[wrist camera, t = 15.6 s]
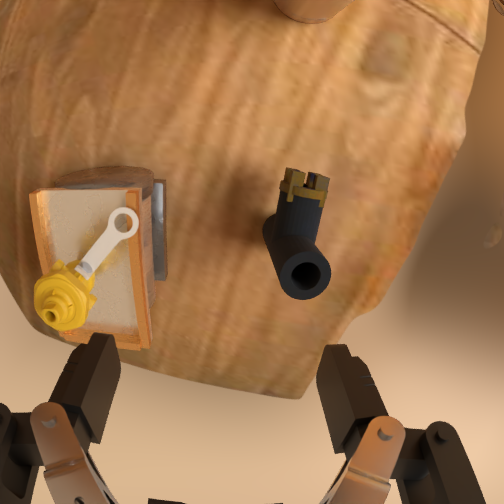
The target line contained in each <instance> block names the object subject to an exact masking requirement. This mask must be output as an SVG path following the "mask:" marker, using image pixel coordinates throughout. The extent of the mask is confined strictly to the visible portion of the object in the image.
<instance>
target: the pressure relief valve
mask: <svg viewBox="0 0 504 504" xmlns="http://www.w3.org/2000/svg"><path fill="white" fill-rule="evenodd" d="M121 213H125V214H128V215H129V216H130V217H131V218H132V221H133V226H132V228H131V230H130V231H128V232H120V231H118V230H117V229H116V227H115V224H114V221H115V218H116V216H117V215H119V214H121ZM138 226H139V219H138V217H137V214H136V213H135V212H134V211H133V210H132V209H130V208H127V207H120V208H117V209H116V210H114V211H113V212H112V213H111V215H110V217H109V221H108V227H107V229H106V230H105V231H104V233H103V234H102V235H101V236H100V238H99V239H98V240H97V241H96V242H95V244H94V245H93V246H92V247H91V249H90V250H89V251H88V252H87V254H86V255H85V256H84V258H83V259H82V260H74V261H72V262H69V263H68V264H67V265H66V266H65V263H64V262H63V261H62V260H60V259H58V260H57V261H56V263H55V264H54V265H53V266H52V268H51V269H50V271H49V273H48V274H45V275H43V276H42V277H41V278H40V279H39V280H38V281H37V282H36V284H35V286H34V307H35V310H36V312H37V314H38V315H39V316H40V317H41V318H42V319H43V321H44V322H45V323H46V324H48V325H50V326H51V327H53V328H54V329H56V330H59V331H68V330H72V329H75V328H78V327H81V326H82V325H83V324H84V323H85V321H86V319H87V317H88V312H89V310H90V309H91V308H92V307H93V305H94V304H95V302H96V301H97V298H96V297H95V296H94V295H93V294H90V293H89V292H91V290H92V288H93V287H94V283H95V274H94V271H95V270H96V269H97V267H98V266H99V265H100V264H101V263H102V261H103V260H104V259H105V258H106V257H107V255H108V254H109V253H110V252H111V251H112V249H113V248H114V247H115V246H116V245H117V244H118V242H119V241H121V240H122V239H126V238H130V237H131V236H133V235H134V234H135V233H136V231H137V229H138Z"/></svg>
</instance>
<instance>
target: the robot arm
mask: <svg viewBox="0 0 504 504" xmlns="http://www.w3.org/2000/svg"><path fill="white" fill-rule="evenodd" d="M353 1H354V0H274V3H275V4H276V6H277V7H278V9H279V10H280V11H282V12H283V13H284V14H285V15H286V16H288V17H290V18H291V19H294V20H296V21H299V22H303V23H310V24H314V23H321V22H325V21H327V20H329V19H331V18H332V17H333V16H335V15H336V14H337V13H338V12H340V11H341V10H342V9H344V8H345V7H346V6H348V5H349V4H350V3H351V2H353ZM120 373H121V364H120V359H119V355H118V351H117V347H116V342H115V338H114V336H113V334H106V333H98V332H94V333H93V334H92V336H91V338H90V340H89V342H88V344H82V343H81V344H80V345H79V346H78V347H77V348H76V349H74V350H73V351H72V353H71V355H70V357H69V359H68V361H67V364H66V365H65V367H64V369H63V372H62V373H61V375H60V377H59V379H58V382H57V384H56V386H55V388H54V390H53V392H52V395H51V397H50V399H49V401H48V402H45V403H42V404H39V405H38V406H37V407H35V409H34V410H33V411H32V412H28V413H11V412H10V410H9V409H8V407H7V406H6V405H4V404H2V403H0V504H31V499H32V495H33V490H34V486H35V482H36V478H37V473H38V470H39V466H45V469H46V471H44V478H45V480H46V483H47V486H48V488H49V491H50V493H51V495H52V497H53V500H54V502H55V504H118V502H117V501H116V499H115V498H114V496H113V495H112V493H111V492H110V490H109V489H108V487H107V485H106V483H105V481H104V480H103V478H102V476H101V474H100V472H99V471H98V469H97V467H96V465H95V463H94V461H93V459H92V457H91V455H90V453H89V451H88V449H89V446H90V442H92V443H97V444H100V442H101V439H102V435H103V431H104V428H105V424H106V421H107V417H108V414H109V410H110V407H111V404H112V400H113V397H114V394H115V391H116V387H117V384H118V381H119V378H120ZM316 383H317V388H318V392H319V395H320V399H321V403H322V407H323V410H324V414H325V418H326V422H327V425H328V429H329V433H330V437H331V441H332V445H333V448H334V452H335V454H338V453H345V455H346V460H345V462H344V464H343V465H342V467H341V469H340V471H339V473H338V474H337V476H336V478H335V479H334V481H333V483H332V484H331V486H330V488H329V490H328V491H327V493H326V495H325V496H324V498H323V499H322V501H321V502H320V503H319V504H384V502H385V500H386V498H387V495H388V493H389V491H390V487H391V485H390V484H389V479H396V482H397V486H398V489H399V493H400V497H401V501H402V504H486V502H485V500H484V497H483V494H482V491H481V489H480V486H479V484H478V481H477V478H476V476H475V474H474V471H473V469H472V466H471V464H470V461H469V459H468V456H467V455H466V452H465V450H464V447H463V445H462V443H461V440H460V438H459V436H458V434H457V432H456V430H455V429H454V427H452V426H451V425H450V424H448V423H446V422H442V421H437V422H434V423H432V424H430V425H429V426H428V428H427V429H426V430H422V429H409V428H405V427H403V425H402V424H401V423H400V422H399V421H398V420H397V419H395V418H393V417H390V416H389V415H388V413H387V410H386V408H385V406H384V403H383V401H382V399H381V396H380V394H379V392H378V390H377V387H376V386H375V383H374V380H373V378H372V377H371V374H370V372H369V369H368V367H367V365H366V364H365V363H364V362H363V361H362V360H361V359H360V358H359V357H358V356H357V357H352V356H351V354H350V352H349V350H348V347H347V345H345V344H333V345H326V346H325V348H324V351H323V354H322V358H321V361H320V364H319V367H318V370H317V376H316ZM148 504H185V503H182V502H174V501H165V500H157V499H150V498H149V499H148ZM276 504H283V503H276Z"/></svg>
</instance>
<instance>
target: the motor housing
mask: <svg viewBox="0 0 504 504" xmlns="http://www.w3.org/2000/svg"><path fill="white" fill-rule="evenodd" d="M29 199H30V207H31V214H32V221H33V227H34V233H35V239H36V245H37V250H38V255H39V260H40V264H41V269H42V273H43V275H45V274H48V273H49V271H50V269H51V268H52V266H53V265H54V264H55V263H56V261H57V260H58V259H60V260H62V261H63V262H64V263H65V266H66V265H67V264H68V263H69V262H72V261H74V260H82V259H83V258H84V256H85V255H86V254H87V252H88V251H89V250H90V249H91V247H92V246H93V245H94V244H95V242H96V241H97V240H98V239H99V238H100V236H101V235H102V234H103V233H104V231H105V230H106V229H107V227H108V221H109V217H110V215H111V213H112V212H113V211H114V210H116V209H117V208H120V207H127V208H130V209H132V210H133V211H134V212H135V213H136V214H137V217H138V219H139V226H138V229H137V231H136V233H135V234H134V235H133V236H131V237H130V238H126V239H122V240H121V241H119V242H118V244H117V245H116V246H115V247H114V248H113V249H112V251H111V252H110V253H109V254H108V255H107V257H106V258H105V259H104V260H103V261H102V263H101V264H100V265H99V266H98V267H97V269H96V270H95V271H94V274H95V283H94V287H93V288H92V290H91V292H89V293H90V294H93V295H94V296H95V297H96V298H97V301H96V302H95V304H94V305H93V307H92V308H91V309H90V310H89V312H88V317H87V319H86V321H85V323H84V324H83V325H82V326H81V327H78V328H75V329H72V330H68V331H59V330H58V331H59V334H60V337H64V338H65V340H67V341H73V342H79V343H85V344H88V342H89V340H90V338H91V336H92V334H93V333H94V332H98V333H106V334H113V336H114V338H115V342H116V347H117V348H122V349H131V350H140V351H141V348H149V349H150V345H151V342H152V338H153V336H152V328H151V320H150V311H149V309H150V307H151V306H152V305H153V304H154V301H155V298H156V292H155V280H160V281H165V280H166V277H167V274H168V271H167V242H166V180H153V172H152V171H151V170H148V169H145V168H140V167H128V166H114V167H101V168H93V169H87V170H82V171H78V172H74V173H71V174H68V175H65V176H63V177H61V178H59V179H58V180H57V181H56V182H55V188H39V189H37V190H35V191H33V192H31V193H30V194H29ZM114 224H115V227H116V229H117V230H118V231H120V232H128V231H130V230H131V228H132V226H133V221H132V218H131V217H130V216H129V215H128V214H125V213H121V214H119V215H117V216H116V218H115V221H114Z"/></svg>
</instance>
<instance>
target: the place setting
mask: <svg viewBox="0 0 504 504" xmlns="http://www.w3.org/2000/svg"><path fill="white" fill-rule="evenodd" d="M492 1H493V4H494V6H495V8H496V9H497V11H498V12H499V13H500V14H501V15H503V16H504V11H503V9H502V7H501V6H500V5H499V4H498V3H497V2H496V1H495V0H492ZM500 1H501V3H502V4H503V5H504V0H500Z"/></svg>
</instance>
